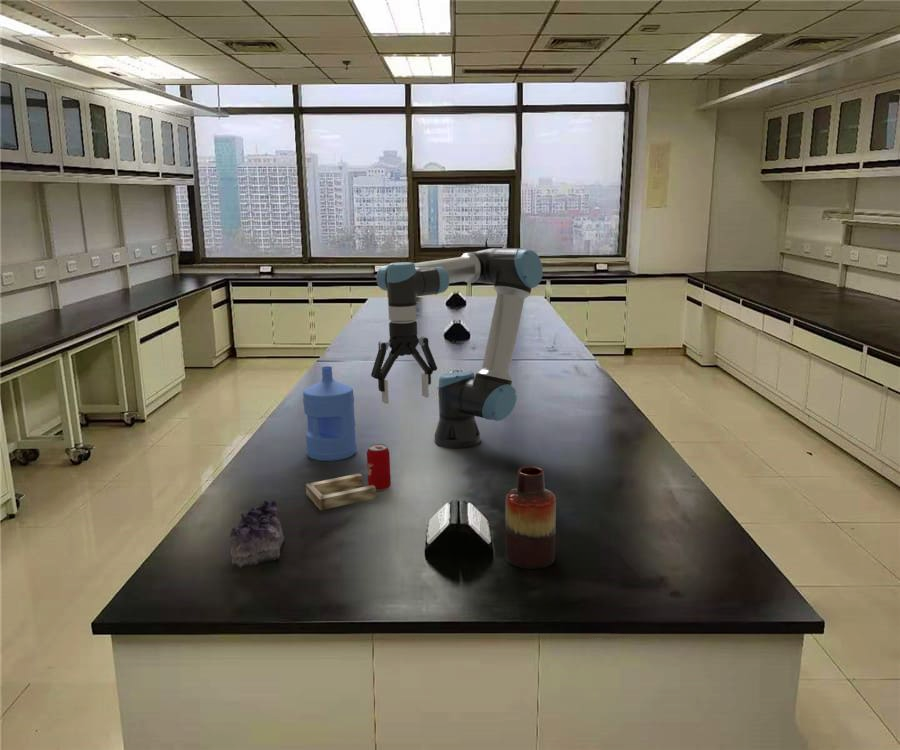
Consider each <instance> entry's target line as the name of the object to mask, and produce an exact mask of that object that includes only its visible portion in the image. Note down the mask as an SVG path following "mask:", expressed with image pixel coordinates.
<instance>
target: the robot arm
mask: <svg viewBox="0 0 900 750" xmlns="http://www.w3.org/2000/svg"><path fill="white" fill-rule="evenodd" d="M543 270H544V269H543V263H542V261H541V258H540V256H539V255H538V253H537V252H535V251H534V250H532V249H526V248H521V247H520V248H506V247H505V248H503V247H492V248H491V247H490V248H487V249H481V250H478V251H477V250H476V251H472V252H471V251H470V252H465V253H463V254H462V255H461V256H459V257H452V258H451V257H450V258H445V259H443V258H442V259H435V260H429V261H427V260H426V261H420V262H411V261H406V262H405V261H402V262H391V263H389V264H388V265H386V264H385V265H383V266H381V267H380V268H379V269H378V271H377V273H376V284H377V286H378V287H379V289H380V290H382V291H385V292H387V302H388V303H387V304H388V320H389V323H388V330H389V331H388V332H389V339H388V341H382V340H380V341H379V342H378V350H377V351H378V352H377V354H376V358H375V360H374V365H373V367H372V370H371V374H370V376H371V378H373V379H377V381H378V385H377V387H378V391H380V393H381V402H382V403H384V404H385V405H386V404H387V405H389V381H388V379H386V377H387V376H388V374H389V373H390V370H391V369H392V367H393V365H394V363H395V362H396V360H397V359H398V358H399V357H403V356H412V357H413V358H414V360H415V361H416V362H417V364H418V365H419V366H420V368H421V369H422V370H423V372H421V376H420V377H421V396H423V397H424V398H429V397H430V396H429V395H430V394H429V386H430V385H431V384H432V374H433V373H434V371H435V372H436V371H437V370H438V367H437V363H436V361H435V359H434V355H433V354H432V351H431V349H430V346H429V338H428V337H425V336H421V337H418V322H417V321H416V320H417V319H418V318H417V317H418V314H417V313H418V311H417V298H418V297H424V296H433V295H434V296H437V295H439V294H443V293H444V292H446V291H447V290H448V288H449V286H450V284H455V283H460V282H465V283H467V284H474V283H479V284H480V283H481V284H489V285H493V289H494V290H495V292H496V295H497V296H496V299H495V305H494V308H493V314H492V319H491V324H490V329H489V333H488V337H487V343H486V347H485V352H484V356H483V357H484V358H483V361H482V366H481V368H480V369H479V370H478V371H476V372H475V373H474V371H471V370H470V371H469V370H463V371H454V372H453V371H452V372H448V373H444V374H442V375H440V377H439V379H438V388H437V390H438V411H439V413H438V415H439V416H438V417H439V420H438V422H437V425H436V429H435V432H434V443H435V445H437V446H440V447H444V448H448V449H449V448H451V449H464V448H465V449H466V448H469V447H474V446H476V445H478V444H480V442H481V432H480V429H479V427H478V423H477V420H476V417H479V418H482V419H485V420H488V421H496V422H497V421H498V422H499V421H502V420H505V419H506V418H507V417H508V416H509V415H511V413H512V412H513V410H514V408H515V406H516V403H517V393H516V392H517V391H516V389H515V388H514V386H512V385H513V384H512V383H513V378H512V377H511V376H510V369H511V364H512V360H513V355H514V350H515V345H516V341H517V336H518V331H519V327H520V322H521V318H522V317H521V316H522V312H523V307H524V301H525V299H527V298H528V297H530V296H531V292H532V289H534V288H536V287H538V286H539V284H540V283H541V282H542V278H543V273H544V272H543ZM418 345H420V348H421V350H422V352H423V355H424V357H425V360H426V361H425V360H424V358H423V357H422V356H421V354H420V352H419V351H418V349H417V346H418ZM389 348H390V351H389V353H388V357H387V358H386V360H385V357H386V354H387V350H389ZM384 361H385V362H384Z"/></svg>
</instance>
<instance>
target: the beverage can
mask: <svg viewBox="0 0 900 750" xmlns="http://www.w3.org/2000/svg"><path fill="white" fill-rule="evenodd" d="M367 448H368V449H367V450H366V465H367V467H366V468H367V486H370V485H374V486H375V487H376V492H382V491H385V490H388V489H389V488H390V487H391V485H392V484H391V483H392V482H391V460H390V459H391V458H390V455H391V454H390V449H389V448H388V445H387V444H384V443H373V444H371V445H369V446H368V447H367Z"/></svg>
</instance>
